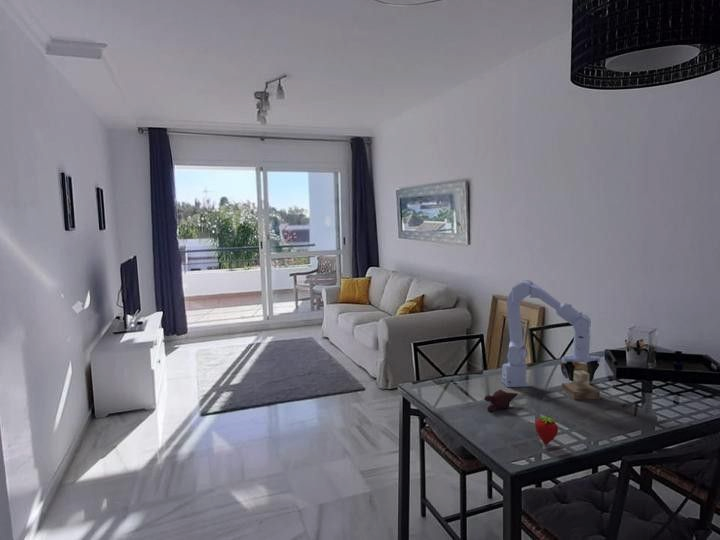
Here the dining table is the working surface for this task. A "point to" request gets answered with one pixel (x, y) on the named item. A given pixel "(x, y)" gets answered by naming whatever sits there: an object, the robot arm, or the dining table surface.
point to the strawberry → (546, 429)
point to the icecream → (500, 399)
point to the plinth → (580, 392)
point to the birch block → (581, 380)
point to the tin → (578, 367)
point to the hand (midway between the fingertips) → (580, 380)
